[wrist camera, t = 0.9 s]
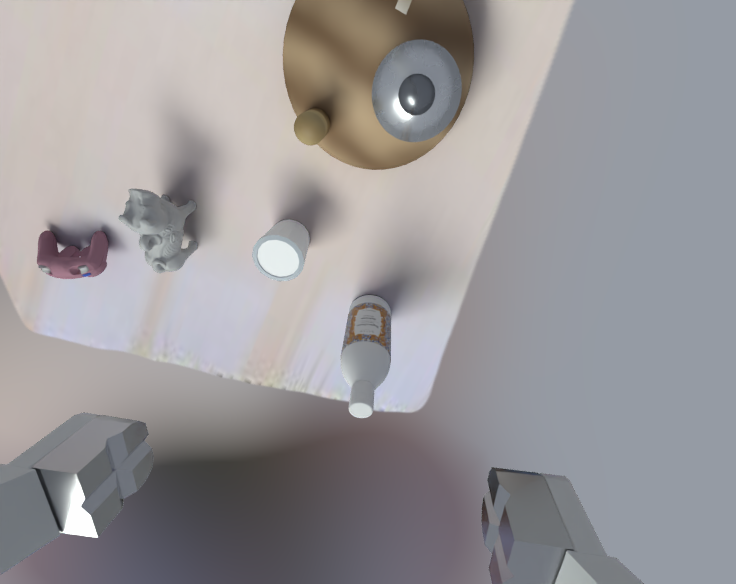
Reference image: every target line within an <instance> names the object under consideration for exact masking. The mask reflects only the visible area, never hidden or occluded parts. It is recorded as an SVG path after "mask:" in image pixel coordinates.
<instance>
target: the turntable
mask: <svg viewBox="0 0 736 584" xmlns="http://www.w3.org/2000/svg"><path fill="white" fill-rule="evenodd" d="M420 39H422V40H429V41H432V42H435V43H437V44H439V45H441V46H442V47H444V48H445V49H446V50H447V51H448V52H449V53H450V54H451V56H452V57H453V58H454V60H455V62H456V64H457V66H458V68H459V72H460V75H461V82H462V92H461V99H460V103H459V106H458V109H457V111H456V114H455V116H454V117H453V119H452V121H451V122H450V123H449V125H448V126H447V127H446V128H445V129H444V130H443V131H442V132H440V133H439V134H438V135H436V136H434V137H433V138H430V139H428V140H425V141H421V142H406V141H402V140H399V139H397V138H395V137H393V136H392V135H390V134H389V133H388V132H387V131H386V130H385V129H384V128H383V127H382V126H381V124H380V123H379V121H378V119H377V117H376V115H375V112H374V109H373V104H372V85H373V80H374V77H375V74H376V71H377V69H378V67H379V65H380V63H381V62H382V60H383V59H384V58H385V57H386V55H387V54H388V53H389V52H390V51H391V50H393V49H394V48H395V47H397V46H399V45H400V44H402V43H405V42H407V41H411V40H420ZM473 64H474V43H473V35H472V28H471V24H470V20H469V16H468V13H467V10H466V7H465V5H464V2H463V0H296V1H295V3H294V5H293V7H292V10H291V13H290V16H289V19H288V22H287V26H286V32H285V37H284V46H283V70H284V77H285V84H286V88H287V92H288V96H289V99H290V101H291V104H292V107H293V109H294V111H295V113H296V115H297V118H296V120H295V123H294V131H295V134H296V136H297V138H298V139H299V140H300V141H301V142H302V143H304V144H306V145H315V144H318V145H319V146H320V147H321V148H322V149H323V150H324V151H326V152H327V153H328V154H330V155H331V156H333V157H334V158H336V159H338V160H340V161H342V162H344V163H346V164H349V165H352V166H355V167H359V168H363V169H372V170H379V169H390V168H396V167H399V166H402V165H406V164H408V163H410V162H412V161H414V160H417V159H418V158H420V157H421V156H423V155H425V154H426V153H427V152H429V151H430V150H431V149H432V148H434V147H435V146H436V145H437V144H438V143H439V142H440V141H441V140H442V139H443V138H444V137H445V135H446V134H447V133H448V132H449V130H450V129H451V128H452V126H453V125H454V123H455V121H456V120H457V118H458V116H459V114H460V112H461V110H462V108H463V106H464V104H465V101H466V98H467V95H468V92H469V88H470V84H471V79H472V73H473Z"/></svg>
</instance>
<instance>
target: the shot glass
mask: <svg viewBox="0 0 736 584" xmlns="http://www.w3.org/2000/svg"><path fill="white" fill-rule="evenodd" d="M309 242H310V237H309V232H308V231H307V229H306V228H305V227H304V226H303V225H302V224H301V223H299V222H298V221H294V220H291V219H288V220H282V221H280V222H278V223H277V224H276V225H274V226H273V227H272V228H271V229H270V230H269V231H268V232H267V233H266V234H265V235H263V236H262V237H261V238H260V239H259V240H258V241H257V243H256V244H255V246H254V247H253V254H252V257H253V260H254V263H255V266H256V267H257V268H258V269H259V271H260V272H261V273H262V274H264V275H265V276H267V277H268V278H270V279H273V280H277V281H289V280H291V279H293V278H296V277H297V276H298V275H299V274H300V273H301V271H302V270H303V266H304V262H305V258H306V254H307V250H308V246H309Z"/></svg>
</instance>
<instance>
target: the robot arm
mask: <svg viewBox="0 0 736 584" xmlns="http://www.w3.org/2000/svg"><path fill="white" fill-rule="evenodd" d="M147 436H148V430H147V427H146V424H145V423H143V422H140V421H136V420H130V419H124V418H118V417H112V416H106V415H97V414H91V413H80V414H77V415H74V416H73V417H71V418H70V419H69V420H67V421H66V422H65V423H63V424H62V425H60V426H59V427H58V428H56V429H55V430H54V431H52V432H51V433H50V434H48V435H47V436H46V437H44V438H43V439H41V440H40V441H39V442H37V443H36V444H35V445H34V446H32V447H31V448H29V449H28V450H26V451H25V452H24V453H22V454H21V455H20V456H18V457H17V458H16V459H14V460H13V461H12V462H10V463H9V464H7V465H5V464H0V575H1V574H3V573H4V572H6V571H7V570H9V569H10V568H12V567H13V566H15V565H16V564H18V563H19V562H21V561H22V560H24V559H25V558H27V557H28V556H30V555H31V554H33V553H34V552H36V551H37V550H39V549H40V548H42V547H43V546H45V545H46V544H48V543H49V542H51V541H52V540H54V539H55V538H57V537H58V536H60V533H68V534H75V535H82V536H90V537H97V538H98V537H99V536H100V534H101V533H102V532H103V531H104V530H105V528H106V527H107V526H108V525H109V524H110V523H111V521H112V520H113V519H114V518H115V517H116V516H117V514H118V513H119V512H120V511H121V510H122V508H123V500H124V498H126V497H127V496H129V495H131V494H133V493H135V492H136V491H138V489H139V488H140V487H141V486H142V485H143V483H144V482H145V480H147V477H148V475H149V473H150V471H151V469H152V466H153V452H152V448H151V447H150V446H149V445H148V444H147V443H146V442H145V441H144V440H145V439H146V437H147ZM487 481H488V486H489V490H490V491H489V492H488V493H486V494H485V495H484V498H483V503H482V517H481V518H482V519H481V522H482V532H483V538H484V544H485V546H486V547H487V548H488V549H489V551H490V552H491V553H492V557H491V561H490V565H489V571H490V576H491V581H492V584H644V583H643V582H642V581H641V580H639V579H638V578H637V577H636V576H635V575H634V574H633V573H632V572H631V571H630V570H629V569H628V568H626V567H625V566H624V565H623V564H622V563H621V562H620V561H619V560H618V559H617V558H614V557H609V556H607V554H606V553H605V551H604V549H603V547H602V545H601V542H600V541H599V538H598V536H597V535H596V532H595V531H594V528H593V526H592V524H591V522H590V520H589V518H588V516H587V514H586V512H585V510H584V508H583V506H582V504H581V502H580V500H579V498H578V496H577V494H576V493H575V490H574V488H573V486H572V484H571V482H570V480H569V479H568V478H566V477H565V476H560V475H552V474H543V473H540V474H539V473H535V472H527V471H519V470H511V469H510V470H509V469H503V468H494V467H492V468H491V470H490V471H489V475H488V479H487Z"/></svg>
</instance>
